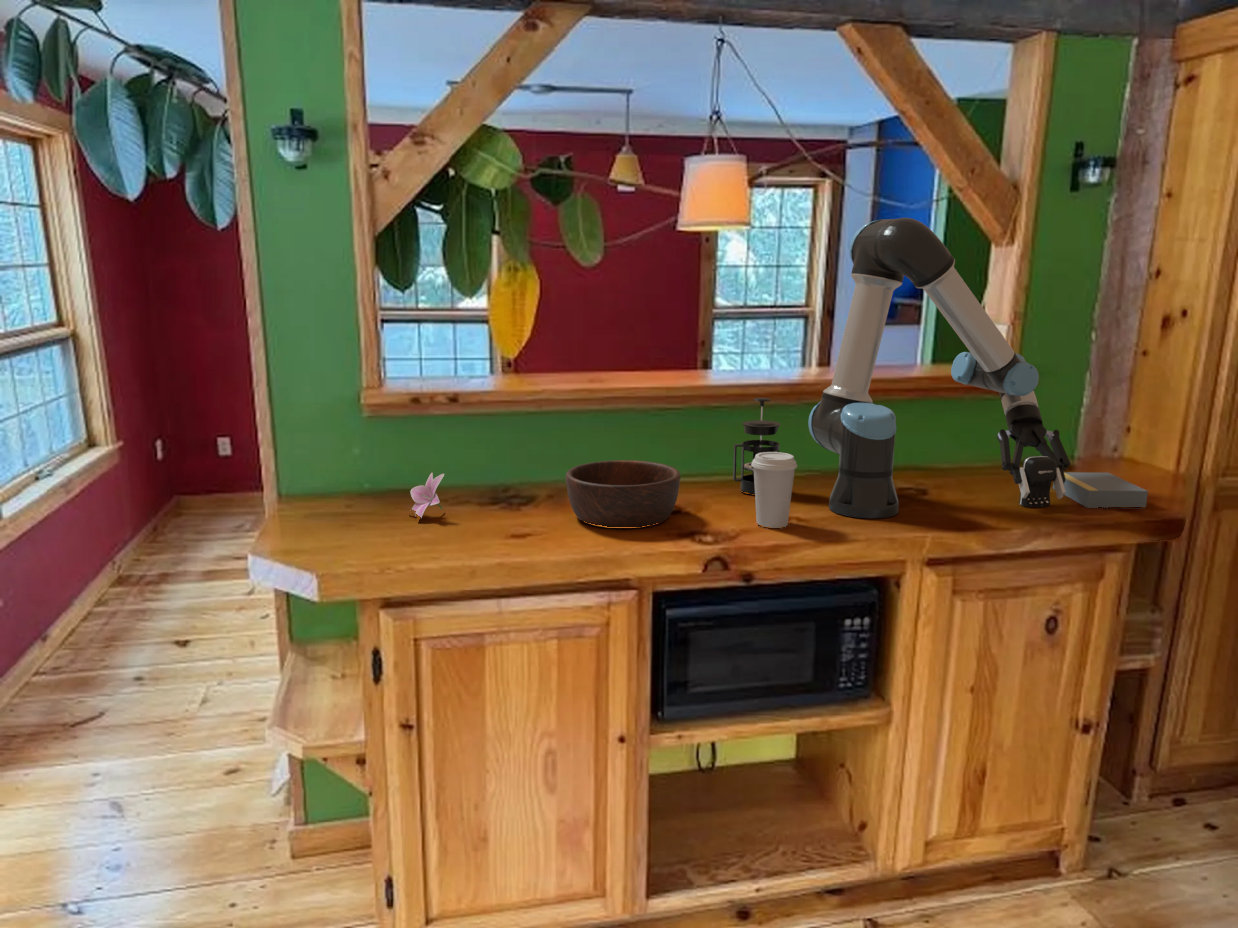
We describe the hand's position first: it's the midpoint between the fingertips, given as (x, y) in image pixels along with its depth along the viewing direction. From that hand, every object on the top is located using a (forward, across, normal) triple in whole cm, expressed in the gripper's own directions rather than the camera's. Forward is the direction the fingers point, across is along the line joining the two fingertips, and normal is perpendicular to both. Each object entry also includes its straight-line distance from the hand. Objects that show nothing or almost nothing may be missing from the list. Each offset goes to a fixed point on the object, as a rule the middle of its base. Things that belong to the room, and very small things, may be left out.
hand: (1043, 495), depth 200 cm
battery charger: (0, 0, -5) cm, 5 cm away
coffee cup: (+12, +62, +6) cm, 63 cm away
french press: (-8, +62, -14) cm, 64 cm away
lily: (+9, +137, +3) cm, 138 cm away
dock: (-6, -18, -11) cm, 21 cm away
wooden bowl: (+8, +94, +2) cm, 94 cm away
